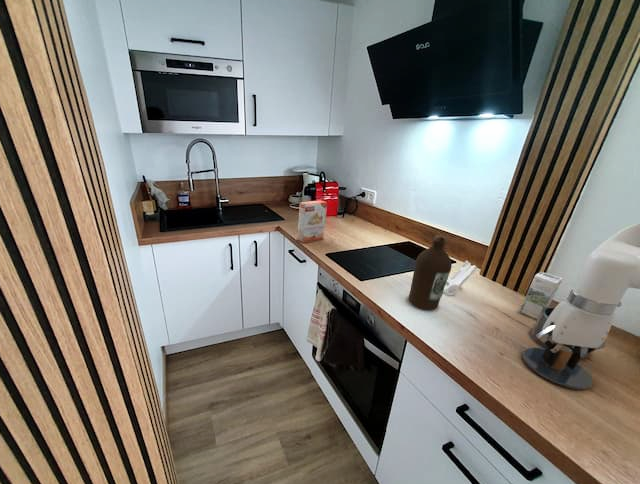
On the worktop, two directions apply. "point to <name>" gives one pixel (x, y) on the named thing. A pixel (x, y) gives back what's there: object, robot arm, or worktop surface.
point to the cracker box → (311, 221)
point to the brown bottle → (430, 275)
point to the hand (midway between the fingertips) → (557, 362)
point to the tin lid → (558, 368)
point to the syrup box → (540, 294)
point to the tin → (540, 323)
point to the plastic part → (459, 278)
